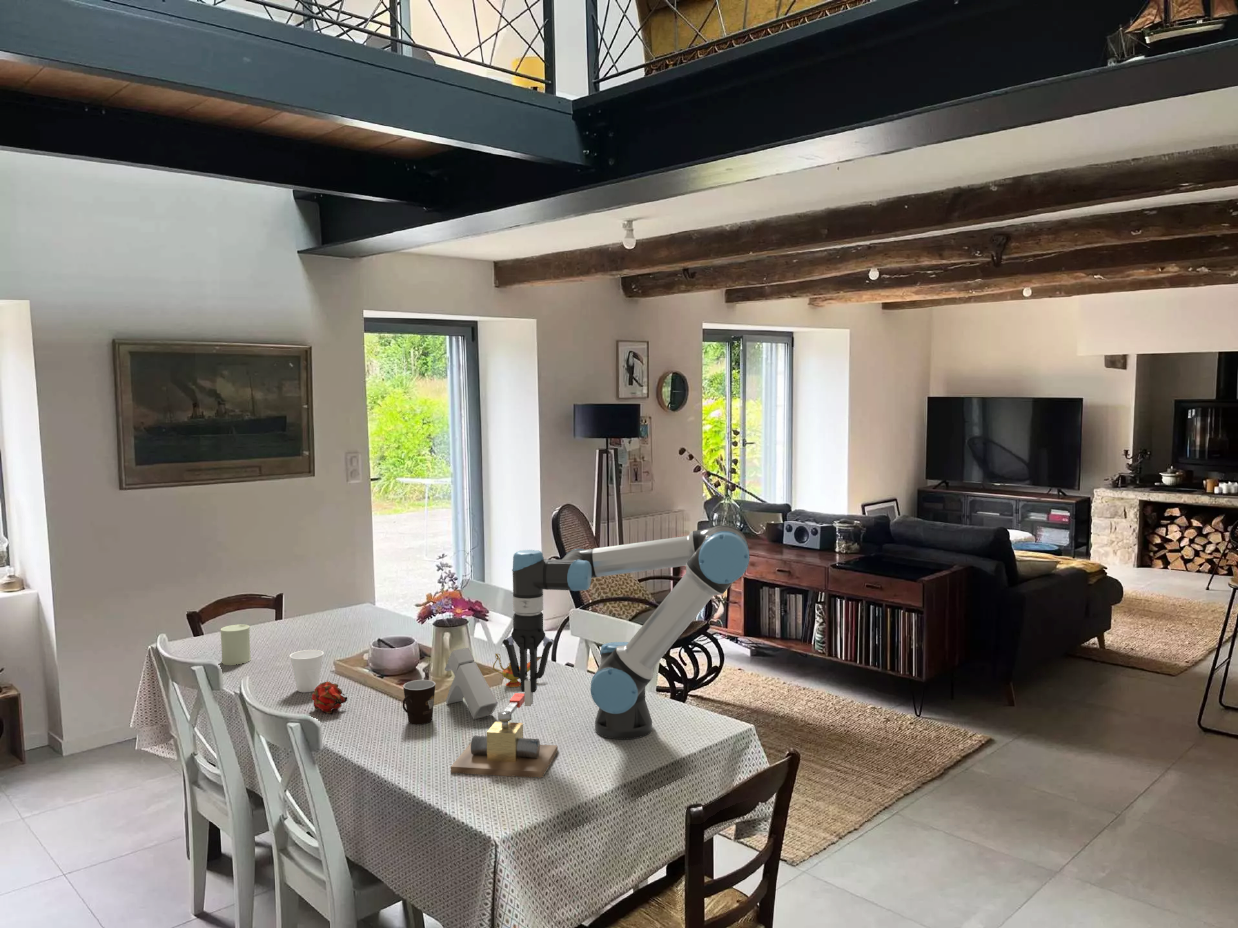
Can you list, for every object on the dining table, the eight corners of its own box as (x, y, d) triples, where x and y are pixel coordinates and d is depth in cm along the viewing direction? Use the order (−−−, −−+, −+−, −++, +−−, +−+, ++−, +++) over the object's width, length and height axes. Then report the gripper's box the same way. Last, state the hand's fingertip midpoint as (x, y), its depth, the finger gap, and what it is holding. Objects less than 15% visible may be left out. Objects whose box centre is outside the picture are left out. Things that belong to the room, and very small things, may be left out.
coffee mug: (425, 712, 255) (424, 677, 255) (442, 720, 249) (441, 684, 248) (388, 723, 247) (387, 687, 246) (405, 731, 241) (404, 694, 240)
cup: (305, 696, 270) (304, 660, 269) (283, 691, 275) (282, 655, 274) (332, 687, 278) (330, 652, 277) (310, 682, 283) (309, 647, 283)
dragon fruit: (320, 708, 264) (340, 725, 256) (298, 698, 258) (317, 714, 250) (337, 682, 266) (357, 698, 258) (316, 671, 261) (335, 687, 252)
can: (257, 659, 309) (255, 625, 308) (232, 666, 301) (231, 631, 300) (240, 655, 314) (238, 621, 313) (215, 662, 306) (214, 627, 305)
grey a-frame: (478, 706, 246) (450, 648, 257) (461, 740, 255) (434, 683, 266) (499, 701, 250) (470, 644, 261) (481, 735, 259) (454, 678, 270)
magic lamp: (548, 679, 284) (548, 645, 283) (499, 692, 272) (498, 656, 271) (536, 674, 289) (535, 640, 288) (487, 686, 278) (486, 651, 277)
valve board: (557, 751, 227) (557, 745, 227) (542, 777, 211) (541, 771, 211) (472, 746, 230) (472, 740, 230) (450, 772, 214) (450, 766, 214)
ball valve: (541, 751, 223) (540, 716, 222) (534, 763, 216) (533, 726, 215) (478, 748, 225) (477, 713, 224) (469, 759, 218) (468, 723, 218)
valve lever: (509, 722, 218) (509, 714, 218) (496, 721, 218) (496, 714, 218) (526, 700, 234) (526, 693, 233) (514, 699, 234) (514, 692, 234)
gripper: (498, 614, 226) (499, 707, 227) (550, 616, 224) (550, 710, 225) (507, 607, 233) (507, 698, 235) (556, 609, 231) (557, 700, 233)
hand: (528, 704), depth 230 cm, fingers closed
